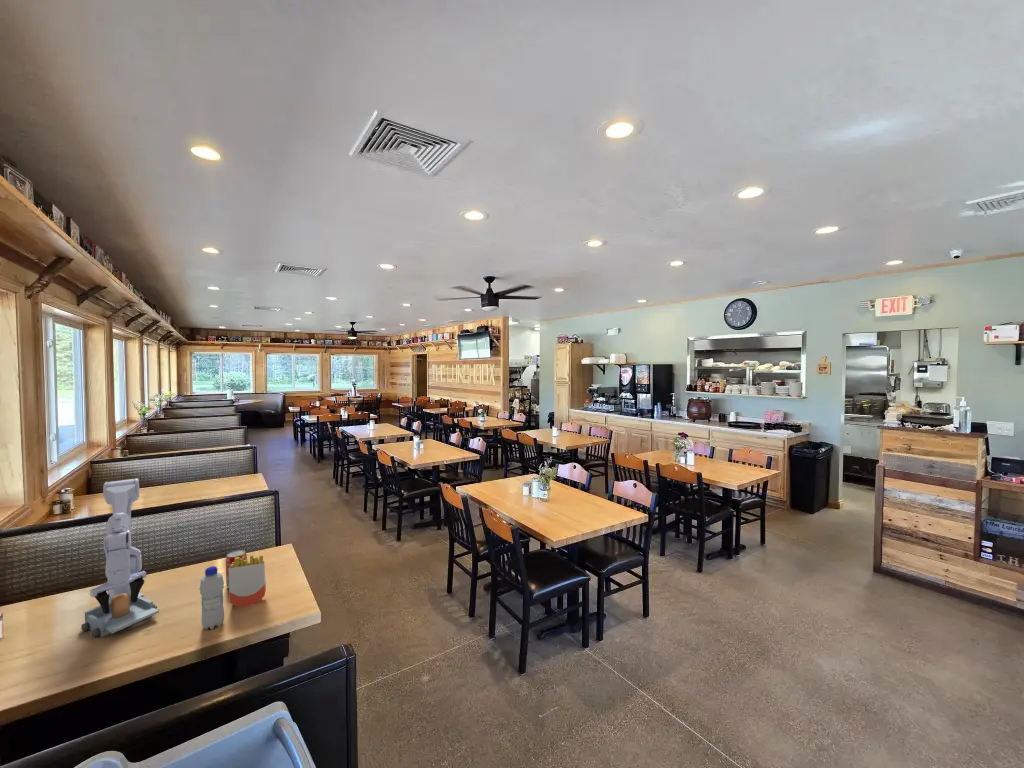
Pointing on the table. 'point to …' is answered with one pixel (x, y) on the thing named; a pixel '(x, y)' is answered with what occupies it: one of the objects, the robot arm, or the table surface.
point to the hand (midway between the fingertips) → (120, 607)
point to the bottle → (212, 598)
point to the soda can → (231, 559)
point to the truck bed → (100, 620)
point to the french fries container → (247, 581)
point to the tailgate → (131, 620)
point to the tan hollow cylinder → (120, 605)
